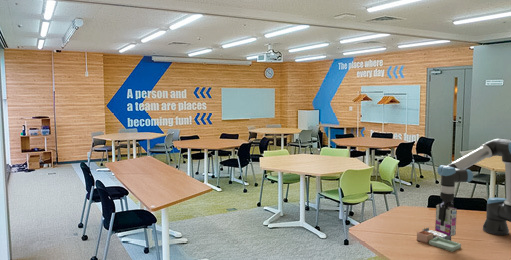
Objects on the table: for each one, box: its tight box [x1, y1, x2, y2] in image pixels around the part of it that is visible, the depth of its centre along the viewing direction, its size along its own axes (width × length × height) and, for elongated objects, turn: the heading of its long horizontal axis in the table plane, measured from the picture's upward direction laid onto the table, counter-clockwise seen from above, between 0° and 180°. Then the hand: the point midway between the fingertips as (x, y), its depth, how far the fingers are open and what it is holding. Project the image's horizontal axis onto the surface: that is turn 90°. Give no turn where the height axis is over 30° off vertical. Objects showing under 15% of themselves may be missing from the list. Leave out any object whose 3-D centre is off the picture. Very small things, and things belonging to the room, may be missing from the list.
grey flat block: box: [427, 229, 447, 238], centre depth 253 cm, size 6×12×1 cm, turn 37°
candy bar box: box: [434, 204, 458, 237], centre depth 238 cm, size 11×5×16 cm, turn 25°
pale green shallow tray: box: [428, 237, 462, 253], centre depth 240 cm, size 10×14×2 cm
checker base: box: [422, 227, 452, 241], centre depth 253 cm, size 6×16×5 cm, turn 37°
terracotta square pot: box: [416, 229, 433, 244], centre depth 248 cm, size 7×7×5 cm
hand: (445, 229), depth 239 cm, fingers closed on candy bar box, 6 cm apart
